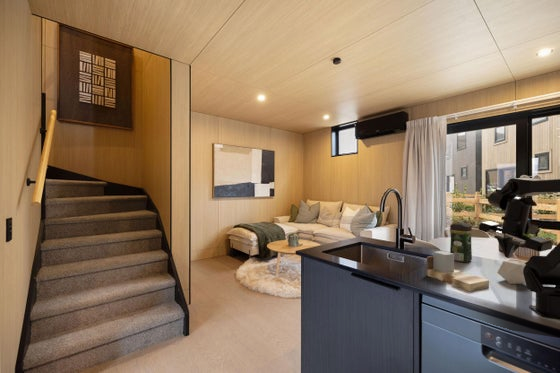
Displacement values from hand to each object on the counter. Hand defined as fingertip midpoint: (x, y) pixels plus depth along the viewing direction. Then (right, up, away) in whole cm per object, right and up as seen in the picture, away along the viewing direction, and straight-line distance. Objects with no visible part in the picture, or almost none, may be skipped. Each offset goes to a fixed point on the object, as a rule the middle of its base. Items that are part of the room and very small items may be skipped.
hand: (507, 257), depth 88 cm
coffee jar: (+10, -12, +36) cm, 39 cm away
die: (+9, -12, +8) cm, 17 cm away
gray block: (-13, -9, +14) cm, 21 cm away
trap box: (-12, -11, +9) cm, 19 cm away
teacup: (+20, -12, +16) cm, 28 cm away
